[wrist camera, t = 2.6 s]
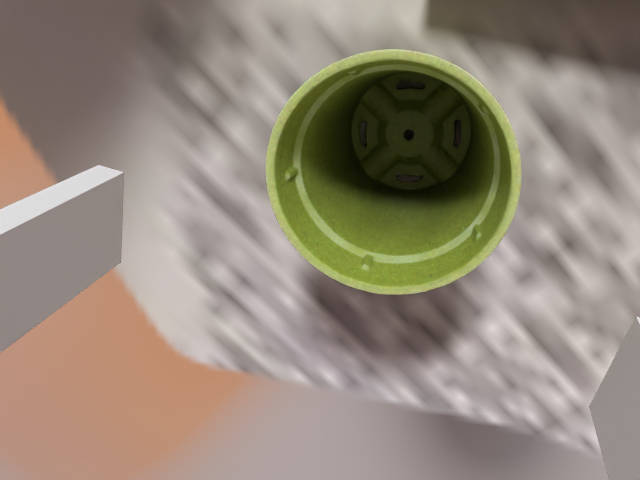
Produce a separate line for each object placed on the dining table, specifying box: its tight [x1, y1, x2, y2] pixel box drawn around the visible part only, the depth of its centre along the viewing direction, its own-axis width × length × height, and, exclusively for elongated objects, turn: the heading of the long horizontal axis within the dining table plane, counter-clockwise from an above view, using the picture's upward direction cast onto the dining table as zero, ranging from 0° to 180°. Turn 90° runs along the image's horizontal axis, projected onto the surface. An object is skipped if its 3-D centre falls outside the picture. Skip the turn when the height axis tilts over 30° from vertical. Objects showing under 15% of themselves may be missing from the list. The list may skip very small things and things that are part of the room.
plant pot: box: [265, 49, 522, 295], centre depth 25 cm, size 9×9×9 cm
